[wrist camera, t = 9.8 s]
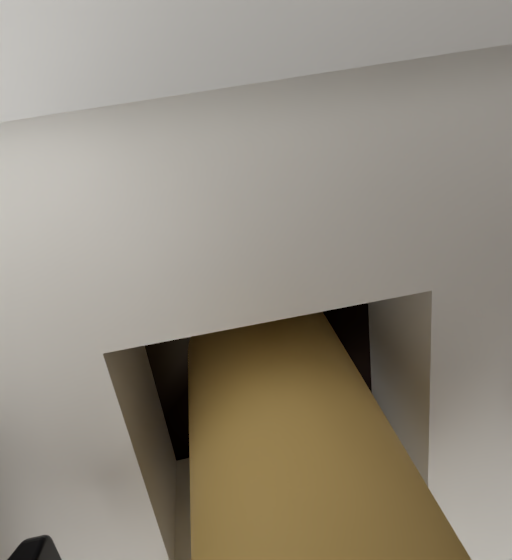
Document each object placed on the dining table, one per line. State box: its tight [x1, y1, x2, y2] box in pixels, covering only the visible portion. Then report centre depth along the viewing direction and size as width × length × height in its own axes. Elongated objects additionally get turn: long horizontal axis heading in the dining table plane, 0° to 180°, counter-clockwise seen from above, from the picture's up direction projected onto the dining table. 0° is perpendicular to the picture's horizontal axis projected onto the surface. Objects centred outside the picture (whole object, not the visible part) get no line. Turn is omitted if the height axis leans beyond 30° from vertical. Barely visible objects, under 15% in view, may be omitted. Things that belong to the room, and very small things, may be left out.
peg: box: [188, 312, 471, 560], centre depth 9 cm, size 4×4×8 cm
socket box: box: [0, 0, 512, 560], centre depth 10 cm, size 16×16×6 cm
